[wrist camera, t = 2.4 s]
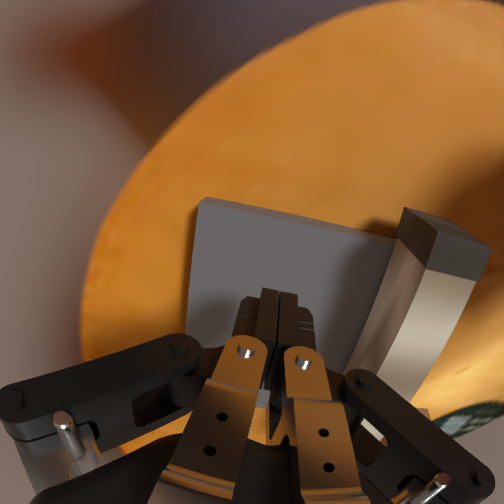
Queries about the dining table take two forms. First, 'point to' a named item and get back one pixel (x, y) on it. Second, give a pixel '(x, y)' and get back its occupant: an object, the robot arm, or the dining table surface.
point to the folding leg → (418, 302)
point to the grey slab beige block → (284, 275)
